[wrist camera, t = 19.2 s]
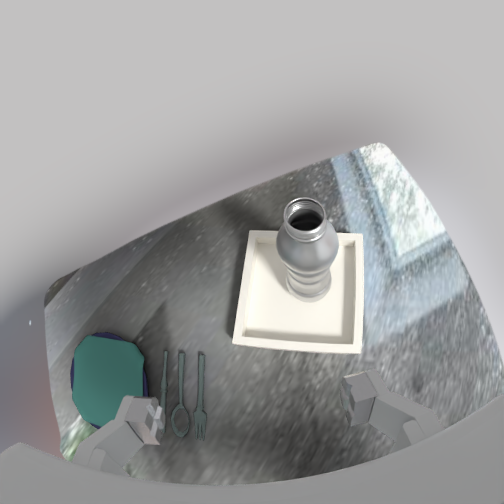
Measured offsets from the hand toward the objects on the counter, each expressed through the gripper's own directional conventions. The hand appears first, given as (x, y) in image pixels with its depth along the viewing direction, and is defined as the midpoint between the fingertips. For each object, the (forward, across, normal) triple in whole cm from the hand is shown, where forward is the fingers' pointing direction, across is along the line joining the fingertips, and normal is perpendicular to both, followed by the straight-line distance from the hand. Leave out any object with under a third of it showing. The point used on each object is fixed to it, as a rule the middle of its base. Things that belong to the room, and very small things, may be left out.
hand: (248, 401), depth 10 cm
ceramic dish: (+29, +8, -11) cm, 32 cm away
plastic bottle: (+29, +9, -10) cm, 32 cm away
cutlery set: (+24, -24, -24) cm, 41 cm away
